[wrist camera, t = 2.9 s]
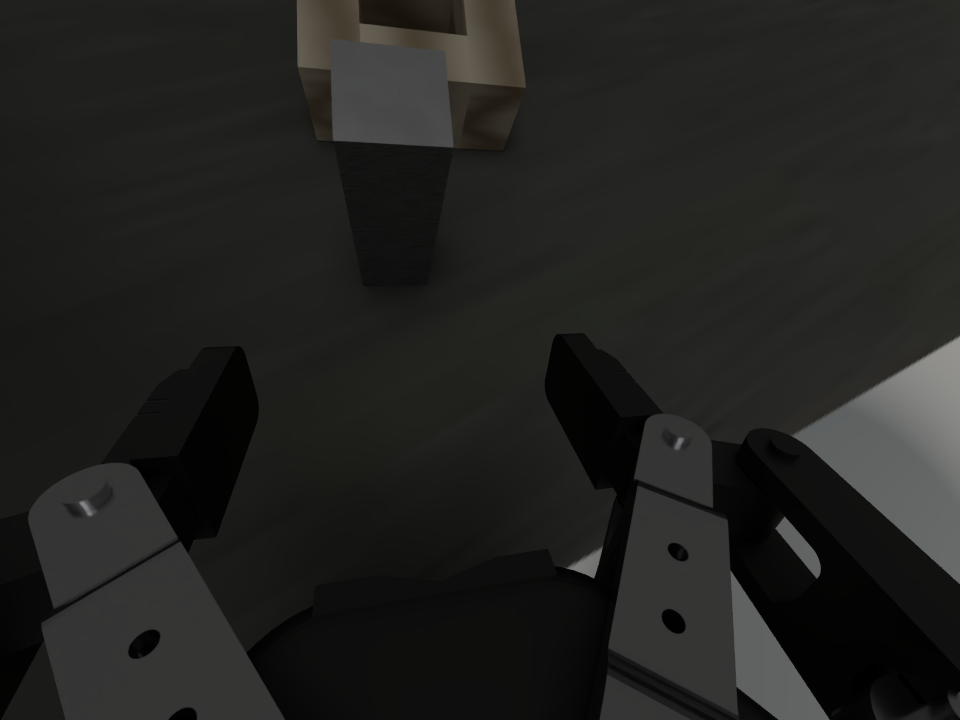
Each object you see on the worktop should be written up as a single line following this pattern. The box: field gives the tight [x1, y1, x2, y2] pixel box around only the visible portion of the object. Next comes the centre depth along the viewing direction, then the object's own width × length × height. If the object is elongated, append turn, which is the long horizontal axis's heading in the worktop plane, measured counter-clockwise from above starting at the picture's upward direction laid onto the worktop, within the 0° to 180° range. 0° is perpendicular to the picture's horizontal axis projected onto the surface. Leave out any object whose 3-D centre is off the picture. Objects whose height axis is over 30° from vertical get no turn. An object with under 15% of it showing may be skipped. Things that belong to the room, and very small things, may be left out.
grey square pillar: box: [330, 39, 454, 286], centre depth 22 cm, size 4×4×14 cm
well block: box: [297, 0, 526, 151], centre depth 29 cm, size 14×14×6 cm
